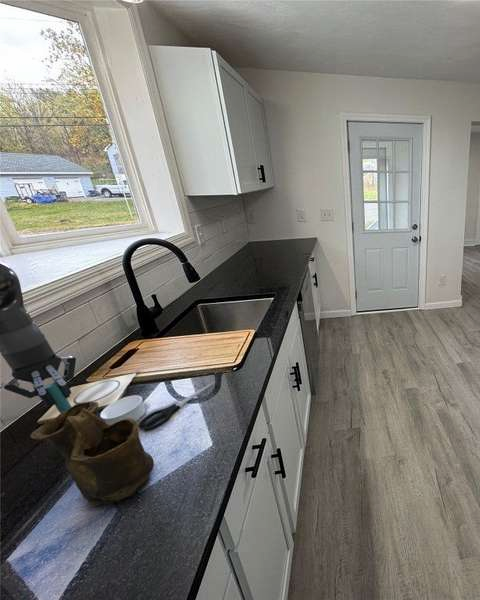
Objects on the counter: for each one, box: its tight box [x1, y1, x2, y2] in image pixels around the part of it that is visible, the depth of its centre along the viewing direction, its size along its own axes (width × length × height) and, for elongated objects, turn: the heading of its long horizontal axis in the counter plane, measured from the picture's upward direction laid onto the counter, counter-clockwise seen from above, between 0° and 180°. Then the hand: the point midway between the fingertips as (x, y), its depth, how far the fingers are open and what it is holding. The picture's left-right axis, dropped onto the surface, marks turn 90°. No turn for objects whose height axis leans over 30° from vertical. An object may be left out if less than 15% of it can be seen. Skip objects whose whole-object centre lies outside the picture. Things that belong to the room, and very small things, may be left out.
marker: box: [44, 381, 72, 414], centre depth 82 cm, size 2×2×11 cm
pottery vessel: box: [30, 401, 155, 507], centre depth 63 cm, size 25×11×20 cm, turn 65°
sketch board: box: [36, 372, 137, 425], centre depth 95 cm, size 18×16×1 cm
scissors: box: [138, 381, 215, 432], centre depth 89 cm, size 7×1×20 cm
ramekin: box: [99, 395, 146, 424], centre depth 85 cm, size 9×9×4 cm
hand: (59, 400), depth 82 cm, fingers closed on marker, 2 cm apart
